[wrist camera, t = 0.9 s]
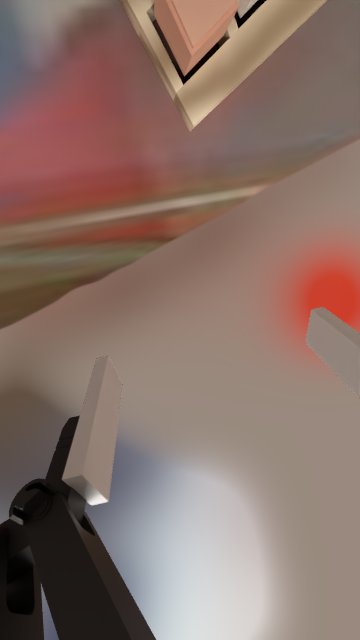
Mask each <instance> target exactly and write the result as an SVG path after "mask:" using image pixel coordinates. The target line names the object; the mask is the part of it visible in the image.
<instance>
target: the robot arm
mask: <svg viewBox="0 0 360 640" xmlns="http://www.w3.org/2000/svg"><path fill="white" fill-rule="evenodd" d="M306 344H307V345H308V346H309V347H310V348H311V349H312V350H313V351H314V352H315V353H316V354H317V355H318V356H319V357H320V358H321V359H322V360H323V361H324V362H325V363H326V364H327V365H328V366H329V367H330V369H331V370H332V371H333V372H334V373H335V374H336V375H337V376H339V378H340V379H341V380H342V381H343V382H344V383H345V384H346V385H347V386H348V387H349V388H350V389H351V390H352V391H353V392H354V393H355V394H356V395H357V396H358V397H359V398H360V333H359V332H357V331H356V330H354V329H353V328H352V327H350V326H349V325H347V324H346V323H345V322H343V321H342V320H340V319H339V318H338V317H336V316H335V315H333V314H332V313H331V312H329V311H328V310H326V309H325V308H324V307H321V308H317V309H312V310H311V314H310V320H309V326H308V331H307V337H306ZM121 392H122V382H121V380H120V379H119V376H118V374H117V372H116V370H115V368H114V367H113V364H112V362H111V360H110V358H109V356H105V357H100V358H96V361H95V365H94V368H93V372H92V375H91V378H90V382H89V386H88V389H87V393H86V396H85V400H84V403H83V407H82V410H81V414H80V416H76V417H72V418H69V420H68V421H67V423H66V424H65V426H64V427H63V429H62V432H61V435H60V438H59V441H58V444H57V446H56V451H55V452H54V455H53V458H52V461H51V464H50V467H49V470H48V473H47V476H46V479H35V480H32V481H31V482H29V483H28V484H26V485H25V486H24V487H23V488H22V489H21V490H20V491H19V492H18V493H17V495H16V496H15V498H14V500H13V501H12V504H11V507H10V510H9V519H8V520H7V521H5V522H3V523H2V524H0V640H44V629H43V612H42V596H41V584H42V587H43V590H44V593H45V597H46V600H47V603H48V606H49V609H50V612H51V615H52V619H53V622H54V625H55V628H56V631H57V634H58V638H59V640H156V638H155V637H154V635H153V633H152V631H151V629H150V628H149V626H148V624H147V622H146V620H145V619H144V617H143V615H142V613H141V611H140V610H139V608H138V606H137V604H136V602H135V600H134V599H133V597H132V595H131V593H130V591H129V590H128V588H127V586H126V584H125V582H124V581H123V579H122V577H121V575H120V573H119V572H118V570H117V568H116V566H115V564H114V562H113V561H112V559H111V557H110V555H109V553H108V552H107V550H106V548H105V546H104V544H103V543H102V541H101V539H100V537H99V535H98V534H97V532H96V530H95V528H94V526H93V525H92V523H91V521H90V519H89V517H88V515H87V514H86V512H85V511H84V510H85V505H86V501H87V502H88V503H89V504H91V505H95V504H100V503H104V502H108V501H109V493H110V485H111V476H112V468H113V459H114V451H115V442H116V434H117V426H118V417H119V409H120V400H121Z"/></svg>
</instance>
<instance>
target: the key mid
mask: <svg viewBox="0 0 360 640" xmlns="http://www.w3.org/2000/svg"><path fill="white" fill-rule="evenodd" d="M257 1H258V0H238V3H239V8H238V10H237V11H238V14H239V17H240V18H241V17H242V16H243V15H244V14H245V13H246V12H247V11H248V10H249V9H250V8H251V7H252V6H253V5H254V4H255V3H256V2H257Z"/></svg>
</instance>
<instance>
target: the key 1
mask: <svg viewBox="0 0 360 640" xmlns="http://www.w3.org/2000/svg"><path fill="white" fill-rule="evenodd" d="M238 8H239V3H238V0H155V1H154V16H155V18H156V20H157V22H158V24H159V26H160V28H161V30H162V32H163V34H164V36H165V38H166V40H167V42H168V44H169V46H170V48H171V50H172V53H173V55H174V57H175V59H176V61H177V63H178V65H179V67H180V69H181V71H182V73H183V75H184V76H185V75H186V74H187V73H188V72H189V71H190V70H191V69H192V68H193V67H194V66H195V65H196V64H197V63H198V62H199V61H200V60H201V59H202V58H203V57H204V56H205V54H206V53H207V52H208V51H209V50H210V49H211V48H212V47H213V46H214V45H215V44H216V43H217V42H218V41H219V40H220V39H221V38H222V37H223V36H224V34H225V32H226V30H227V28H228V26H229V25H230V23H231V21H232V19H233V17H234V15H235V13H236V11H237V10H238Z"/></svg>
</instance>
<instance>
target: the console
mask: <svg viewBox="0 0 360 640" xmlns="http://www.w3.org/2000/svg"><path fill="white" fill-rule="evenodd" d="M119 1H120V3H121V5H122V7H123V9H124V10H125V12H126V14H127V16H128V18H129V20H130V22H131V23H132V25H133V27H134V29H135V31H136V33H137V35H138V36H139V38H140V40H141V42H142V44H143V46H144V48H145V49H146V51H147V53H148V55H149V57H150V59H151V60H152V62H153V64H154V66H155V68H156V70H157V72H158V73H159V75H160V77H161V79H162V81H163V83H164V85H165V86H166V88H167V90H168V92H169V94H170V96H171V98H172V99H173V101H174V103H175V105H176V107H177V109H178V110H179V112H180V114H181V116H182V118H183V120H184V122H185V123H186V125H187V127H188V129H189V131H191V130H192V129H193V128H194V127H195V126H196V125H197V124H198V123H199V122H200V121H202V120H203V119H204V118H205V117H206V116H207V115H208V114H209V113H210V112H211V111H212V110H213V109H214V108H215V107H216V106H217V105H218V104H219V103H220V102H221V101H223V100H224V99H225V98H226V97H227V96H228V95H229V94H230V93H231V92H232V91H233V90H234V89H235V88H236V87H237V86H238V85H239V84H240V83H241V82H242V81H243V80H245V79H246V78H247V77H248V76H249V75H250V74H251V73H252V72H253V71H254V70H255V69H256V68H257V67H258V66H259V65H260V64H261V63H262V62H263V61H264V60H265V59H267V58H268V57H269V56H270V55H271V54H272V53H273V52H274V51H275V50H276V49H277V48H278V47H279V46H280V45H281V44H282V43H283V42H284V41H285V40H286V39H288V38H289V37H290V36H291V35H292V34H293V33H294V32H295V31H296V30H297V29H298V28H299V27H300V26H301V25H302V24H303V23H304V22H305V21H306V20H307V19H308V18H310V17H311V16H312V15H313V14H314V13H315V12H316V11H317V10H318V9H319V8H320V7H321V6H322V5H323V4H324V3H325V2H326V1H327V0H266V1H265V2H264V3H263V4H262V5H261V6H260V7H259V8H258V9H257V10H256V11H255V12H254V14H253V15H252V16H251V17H250V18H249V19H248V20H247V21H246V22H245V23H244V24H243V25H242V26H241V27H240V28H239V29H238V26H237V23H236V20H235V17H233V19H232V21H231V23H230V25H229V26H228V28H227V30H226V32H225V34H224V36H223V37H222V38H221V39H220V40H219V41H218V44H219V46H220V48H219V49H218V50H217V51H216V52H215V54H214V55H213V56H212V57H211V58H210V59H209V60H208V61H207V62H206V63H205V64H204V65H203V66H202V67H201V68H200V69H199V70H198V71H197V72H196V73H195V74H194V75H193V76H192V77H191V78H190V79H189V80H188V81H187V82H186V83H185V84H184V85H183V83H182V81H181V79H180V77H179V75H178V73H177V71H176V69H175V68H174V66H173V64H172V62H171V60H170V58H169V56H168V54H167V52H166V50H165V48H164V46H163V44H162V42H161V40H160V38H159V36H158V34H157V32H156V30H155V28H154V26H153V24H152V23H153V22H154V21H155V19H156V18H155V16H154V1H155V0H119Z"/></svg>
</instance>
